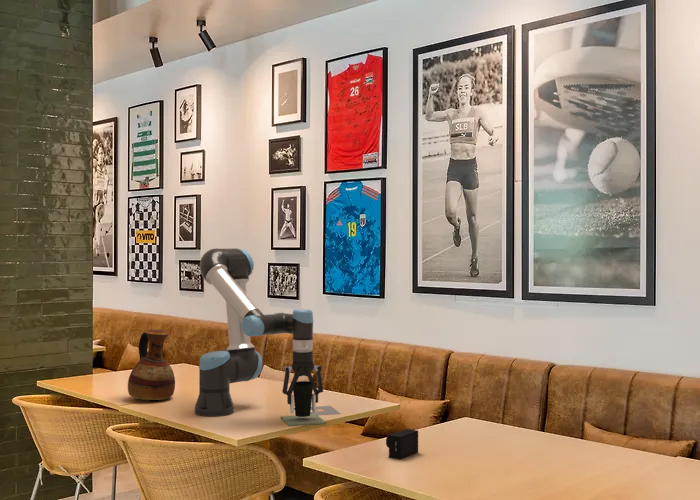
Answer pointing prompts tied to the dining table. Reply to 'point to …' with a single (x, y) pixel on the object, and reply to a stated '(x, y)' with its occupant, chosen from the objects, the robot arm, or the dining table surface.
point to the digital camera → (402, 443)
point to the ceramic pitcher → (152, 369)
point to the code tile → (324, 410)
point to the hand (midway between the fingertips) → (302, 412)
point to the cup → (302, 398)
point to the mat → (302, 420)
